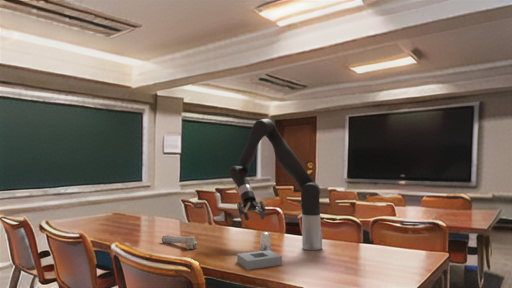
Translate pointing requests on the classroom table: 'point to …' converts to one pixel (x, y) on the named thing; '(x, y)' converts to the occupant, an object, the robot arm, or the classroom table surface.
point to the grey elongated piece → (181, 240)
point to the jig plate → (259, 259)
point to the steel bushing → (265, 241)
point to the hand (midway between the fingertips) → (255, 219)
